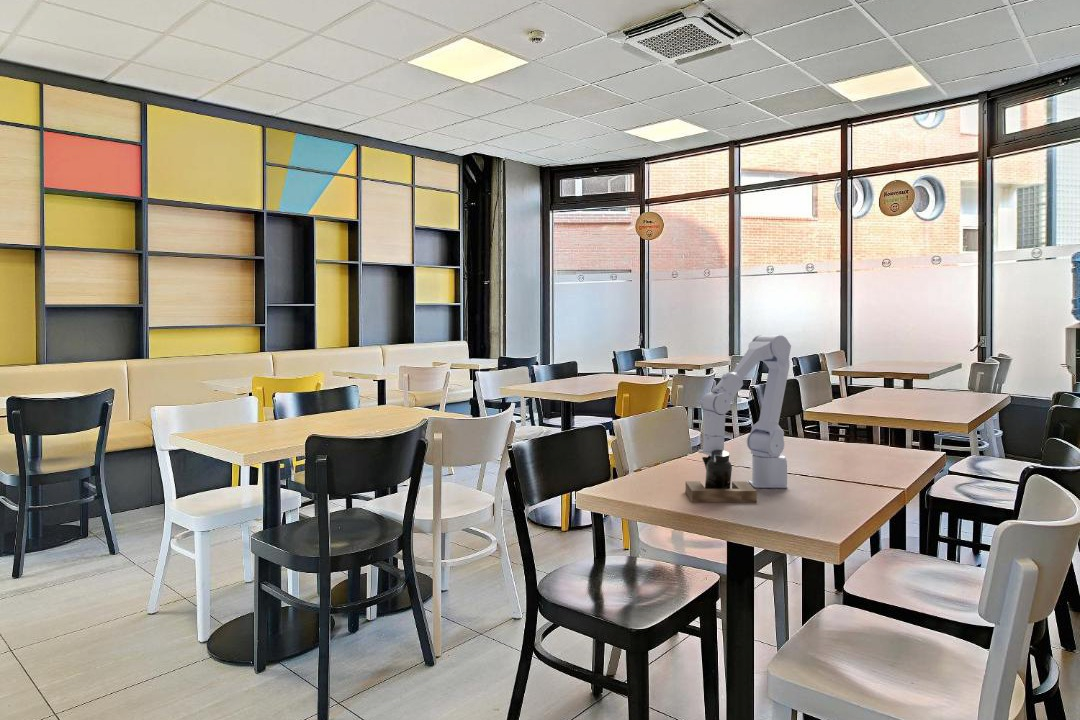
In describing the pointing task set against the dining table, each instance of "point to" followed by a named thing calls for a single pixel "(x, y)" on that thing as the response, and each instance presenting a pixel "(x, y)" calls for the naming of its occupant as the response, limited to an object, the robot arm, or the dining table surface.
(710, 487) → the supplement bottle
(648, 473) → the dining table surface
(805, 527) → the dining table surface
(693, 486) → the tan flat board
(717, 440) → the robot arm
